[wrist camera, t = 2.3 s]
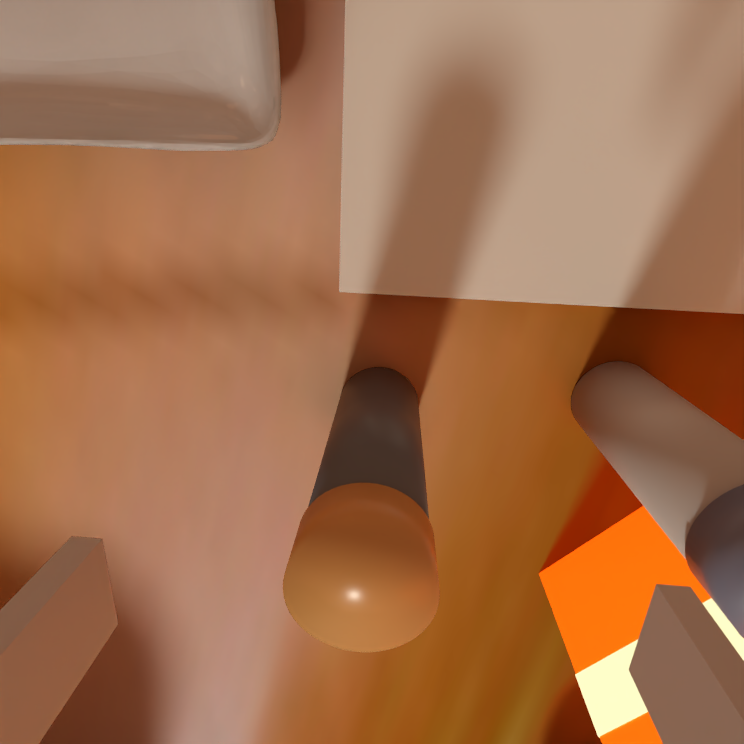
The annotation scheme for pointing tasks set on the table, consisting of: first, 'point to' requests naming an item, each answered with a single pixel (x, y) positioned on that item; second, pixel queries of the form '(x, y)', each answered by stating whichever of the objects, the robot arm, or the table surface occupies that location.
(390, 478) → the marker
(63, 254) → the table surface
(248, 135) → the salad plate
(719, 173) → the paper
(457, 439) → the table surface
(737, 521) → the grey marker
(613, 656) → the orange juice
